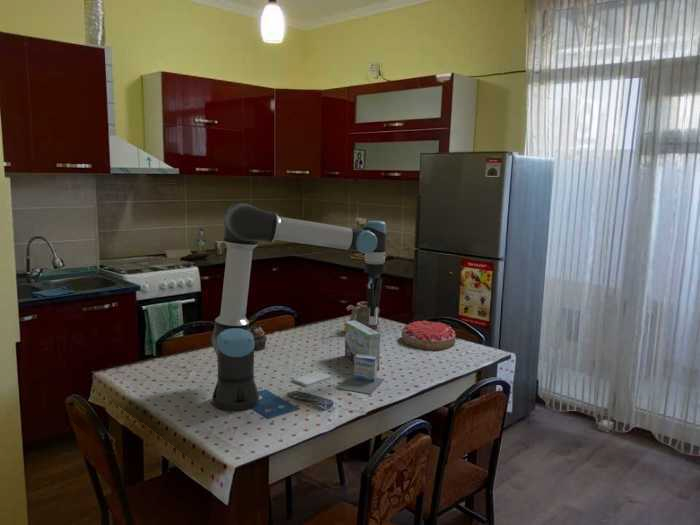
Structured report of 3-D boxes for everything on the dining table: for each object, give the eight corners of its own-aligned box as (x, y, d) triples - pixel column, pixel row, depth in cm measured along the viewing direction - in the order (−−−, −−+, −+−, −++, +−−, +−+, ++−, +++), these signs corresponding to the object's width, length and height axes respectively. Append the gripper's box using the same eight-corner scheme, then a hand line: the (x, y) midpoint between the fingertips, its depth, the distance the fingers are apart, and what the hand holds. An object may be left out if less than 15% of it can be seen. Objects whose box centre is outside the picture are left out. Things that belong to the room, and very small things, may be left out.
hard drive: (315, 370, 213) (291, 378, 204) (331, 375, 208) (306, 384, 199) (315, 374, 213) (291, 382, 204) (331, 380, 208) (306, 388, 199)
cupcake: (262, 352, 237) (263, 329, 235) (241, 350, 238) (241, 327, 237) (269, 345, 246) (269, 323, 245) (248, 344, 248) (248, 322, 246)
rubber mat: (370, 394, 194) (370, 393, 194) (336, 388, 198) (336, 387, 198) (384, 379, 208) (384, 378, 208) (351, 374, 213) (351, 373, 213)
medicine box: (353, 379, 207) (354, 357, 205) (356, 375, 211) (357, 353, 210) (374, 382, 205) (375, 359, 204) (376, 378, 209) (377, 355, 208)
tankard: (367, 326, 283) (368, 297, 280) (384, 332, 273) (386, 302, 271) (336, 332, 270) (337, 302, 268) (353, 339, 260) (354, 307, 258)
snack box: (343, 355, 235) (344, 321, 233) (355, 354, 238) (356, 319, 236) (367, 371, 217) (369, 334, 215) (380, 369, 219) (381, 332, 217)
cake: (427, 329, 277) (427, 314, 275) (466, 344, 258) (467, 327, 256) (390, 340, 262) (391, 324, 260) (430, 356, 243) (430, 339, 241)
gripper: (379, 265, 200) (377, 329, 204) (389, 261, 212) (387, 321, 216) (359, 264, 203) (357, 327, 206) (370, 259, 215) (369, 319, 218)
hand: (372, 324), depth 211 cm, fingers closed
